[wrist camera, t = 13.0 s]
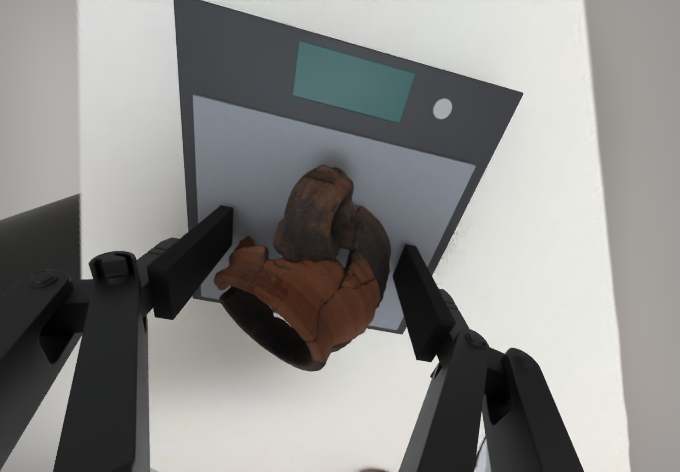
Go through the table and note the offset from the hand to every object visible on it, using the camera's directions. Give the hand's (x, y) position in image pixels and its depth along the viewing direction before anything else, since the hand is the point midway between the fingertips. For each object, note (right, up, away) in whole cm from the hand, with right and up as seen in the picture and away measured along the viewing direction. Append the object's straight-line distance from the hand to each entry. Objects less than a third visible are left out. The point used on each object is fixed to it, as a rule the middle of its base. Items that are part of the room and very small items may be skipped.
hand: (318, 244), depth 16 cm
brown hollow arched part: (0, 0, +1) cm, 1 cm away
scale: (0, +3, +2) cm, 4 cm away
